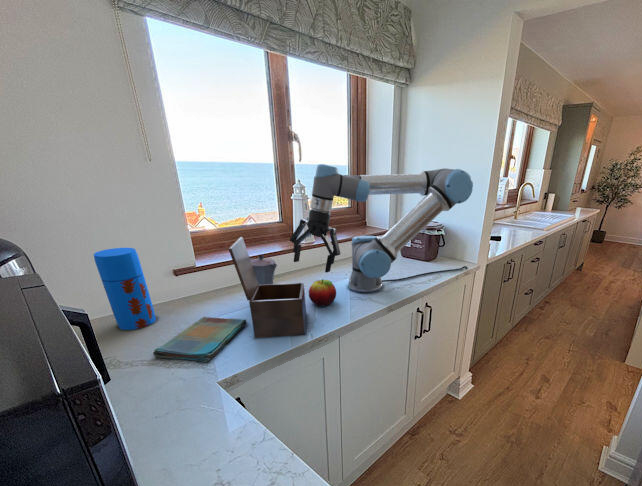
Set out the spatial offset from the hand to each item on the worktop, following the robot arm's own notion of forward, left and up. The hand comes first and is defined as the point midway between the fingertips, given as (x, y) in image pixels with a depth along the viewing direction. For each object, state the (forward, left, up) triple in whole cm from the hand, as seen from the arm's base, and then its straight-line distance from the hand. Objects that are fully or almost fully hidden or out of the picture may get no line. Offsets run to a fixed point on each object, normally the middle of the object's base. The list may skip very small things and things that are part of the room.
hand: (311, 266), depth 123 cm
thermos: (+59, +9, -15) cm, 62 cm away
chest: (+11, +18, -15) cm, 26 cm away
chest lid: (+19, +18, +6) cm, 27 cm away
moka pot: (+19, -2, -15) cm, 25 cm away
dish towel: (+33, +24, -15) cm, 44 cm away
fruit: (-3, +1, -15) cm, 16 cm away
